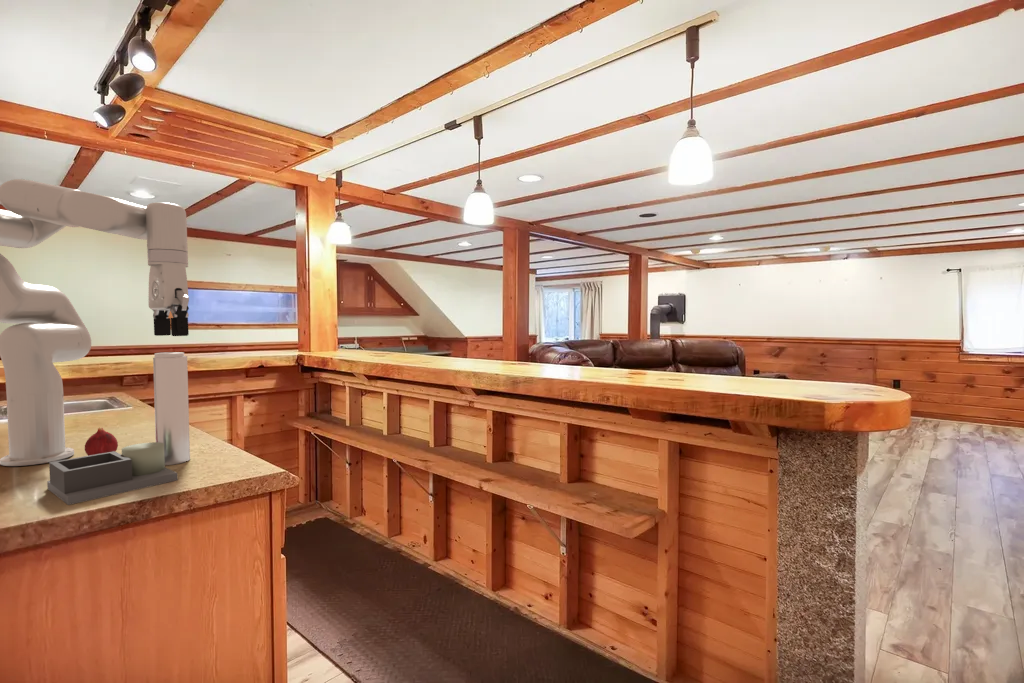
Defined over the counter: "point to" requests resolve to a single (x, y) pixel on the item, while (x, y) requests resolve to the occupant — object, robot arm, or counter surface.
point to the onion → (101, 443)
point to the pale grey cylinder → (172, 406)
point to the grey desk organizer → (109, 473)
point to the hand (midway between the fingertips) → (171, 335)
